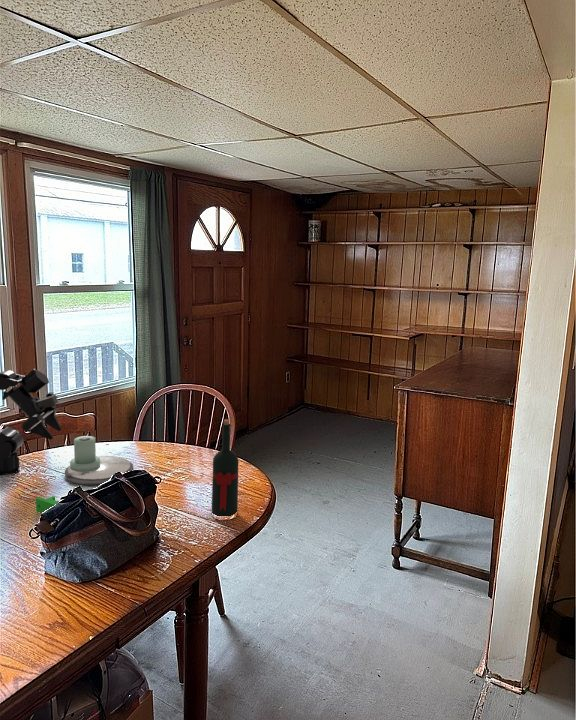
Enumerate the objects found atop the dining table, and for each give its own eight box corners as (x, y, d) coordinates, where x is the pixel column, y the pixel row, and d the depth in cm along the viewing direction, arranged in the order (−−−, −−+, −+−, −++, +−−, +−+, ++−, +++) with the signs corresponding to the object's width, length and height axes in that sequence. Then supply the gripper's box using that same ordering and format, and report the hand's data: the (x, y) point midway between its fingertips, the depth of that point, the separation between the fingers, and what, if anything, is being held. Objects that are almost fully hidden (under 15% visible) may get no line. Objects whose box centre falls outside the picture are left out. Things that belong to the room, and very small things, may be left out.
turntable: (76, 491, 167) (76, 484, 167) (56, 469, 185) (56, 462, 184) (143, 476, 182) (143, 469, 181) (119, 456, 199) (119, 450, 199)
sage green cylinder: (75, 473, 176) (74, 445, 174) (66, 464, 183) (65, 437, 182) (104, 467, 182) (103, 440, 180) (94, 458, 190) (94, 432, 188)
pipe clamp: (72, 516, 151) (72, 502, 151) (62, 522, 148) (61, 507, 147) (47, 507, 156) (46, 493, 156) (36, 512, 153) (35, 497, 152)
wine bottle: (208, 524, 150) (210, 426, 145) (213, 508, 160) (214, 415, 155) (235, 525, 150) (238, 427, 145) (238, 509, 160) (240, 416, 155)
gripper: (33, 393, 169) (66, 428, 172) (52, 381, 187) (81, 413, 190) (7, 414, 169) (40, 448, 172) (28, 399, 187) (58, 431, 190)
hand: (56, 434), depth 181 cm, fingers open, 9 cm apart
